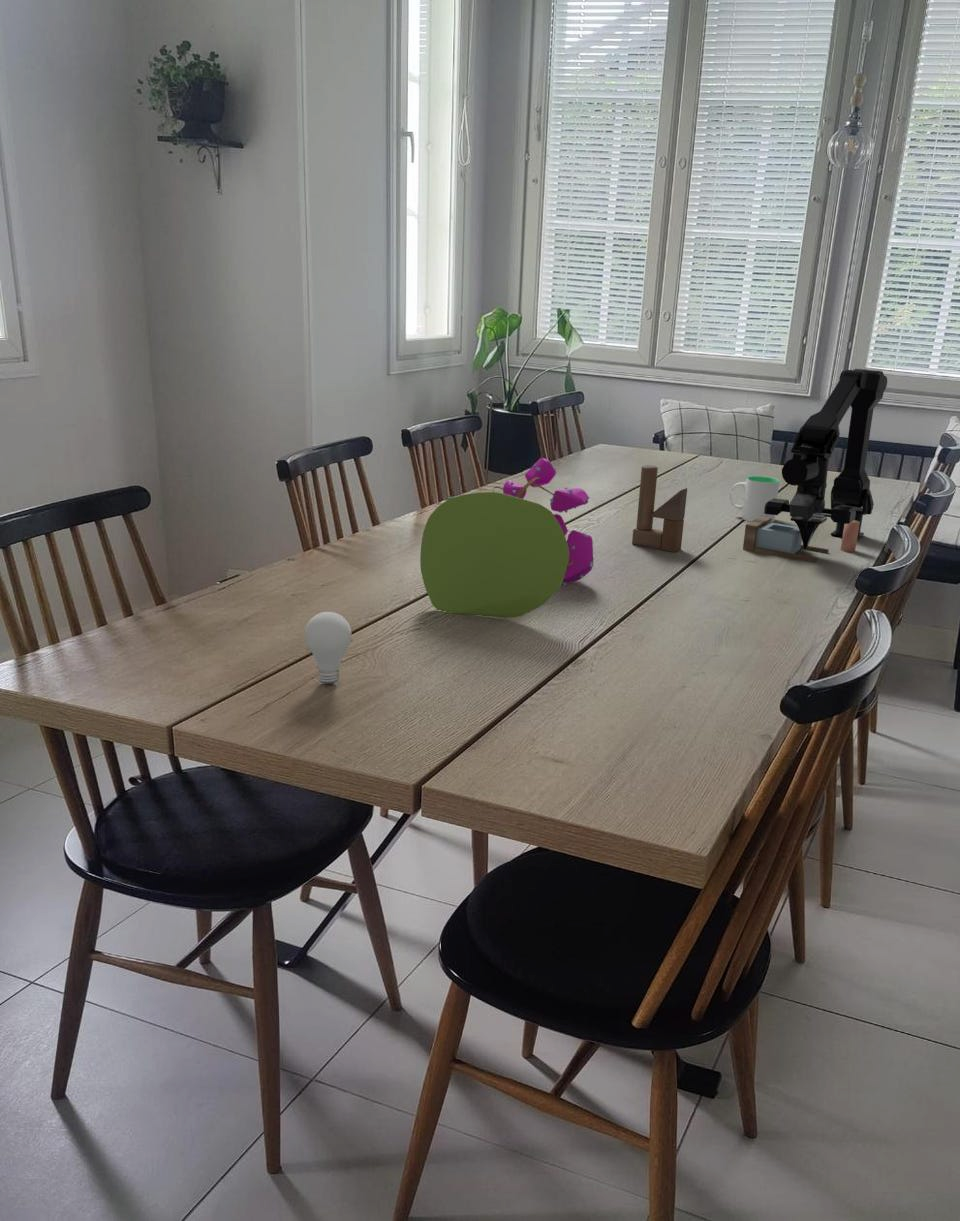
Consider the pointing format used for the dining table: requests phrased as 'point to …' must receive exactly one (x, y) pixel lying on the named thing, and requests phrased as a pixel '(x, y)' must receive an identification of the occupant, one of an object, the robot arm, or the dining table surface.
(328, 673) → the light bulb
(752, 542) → the track wall
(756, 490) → the mug
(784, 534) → the socket block
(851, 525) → the pink rectangular block
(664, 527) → the wooden block
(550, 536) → the green pad purple flowers
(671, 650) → the dining table surface
